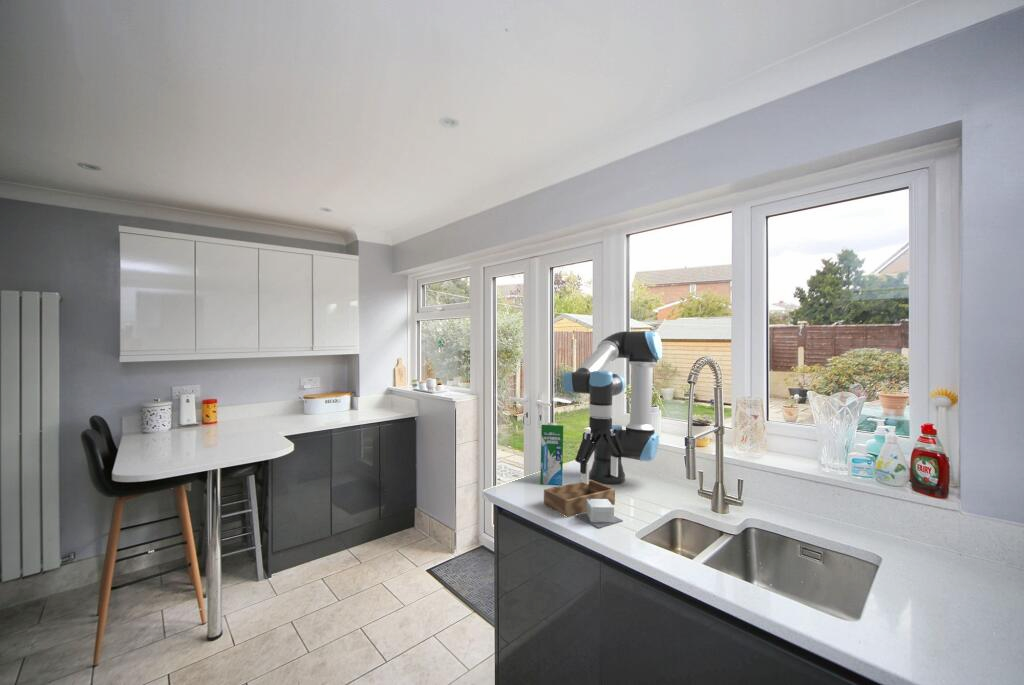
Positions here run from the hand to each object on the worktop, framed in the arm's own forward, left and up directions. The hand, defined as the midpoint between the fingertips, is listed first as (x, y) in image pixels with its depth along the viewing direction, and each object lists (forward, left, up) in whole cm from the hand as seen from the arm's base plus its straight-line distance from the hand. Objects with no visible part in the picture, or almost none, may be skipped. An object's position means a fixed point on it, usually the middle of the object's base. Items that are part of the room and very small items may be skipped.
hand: (600, 479), depth 144 cm
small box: (0, +1, -13) cm, 13 cm away
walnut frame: (-3, -13, -13) cm, 19 cm away
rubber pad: (0, 0, -13) cm, 13 cm away
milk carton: (-10, -38, -13) cm, 42 cm away
